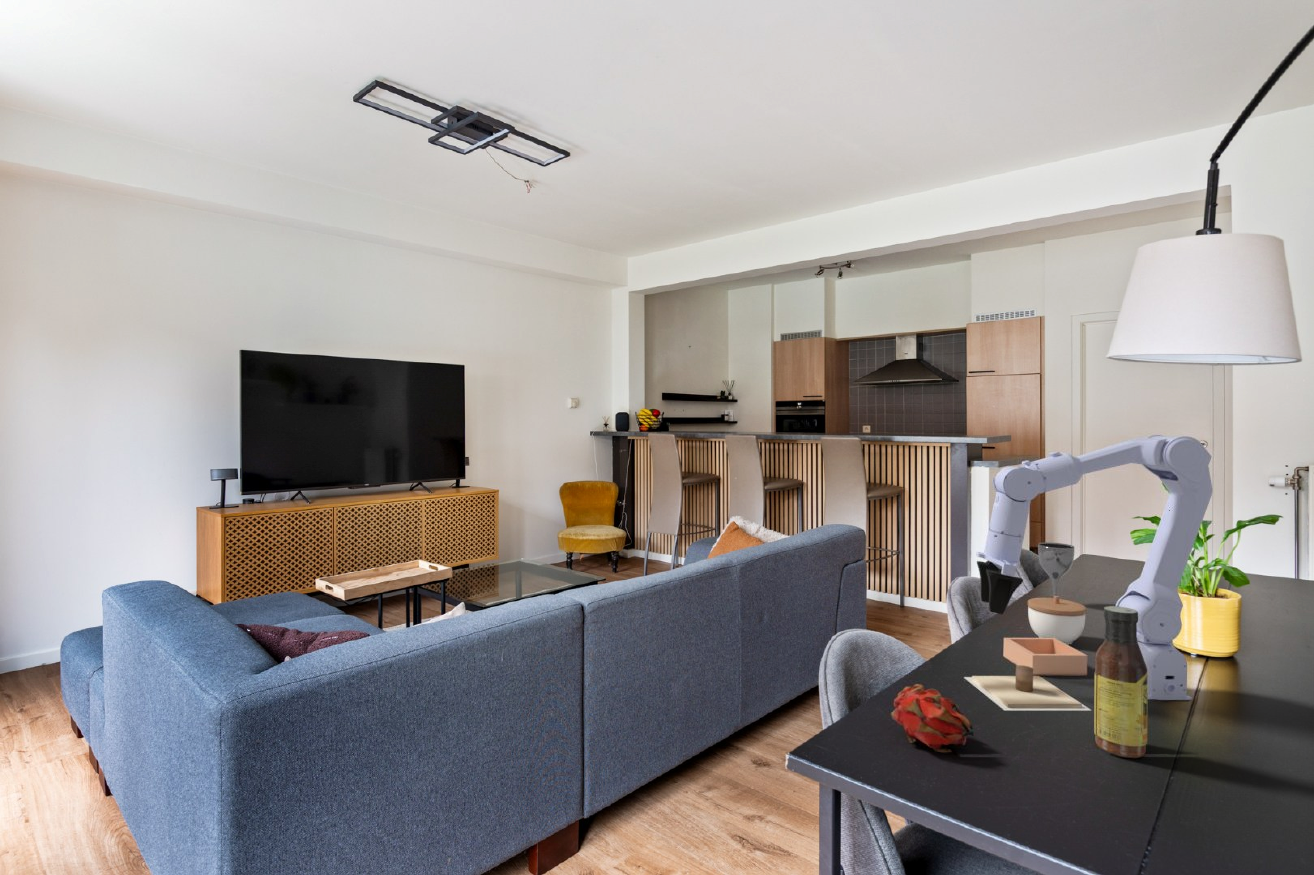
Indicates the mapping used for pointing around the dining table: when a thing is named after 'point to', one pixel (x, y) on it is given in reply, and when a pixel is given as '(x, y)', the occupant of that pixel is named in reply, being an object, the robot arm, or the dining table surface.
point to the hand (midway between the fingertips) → (991, 607)
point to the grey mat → (1022, 708)
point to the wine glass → (1055, 560)
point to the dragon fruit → (930, 718)
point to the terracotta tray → (1045, 656)
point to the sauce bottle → (1121, 687)
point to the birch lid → (1025, 690)
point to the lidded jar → (1056, 618)
